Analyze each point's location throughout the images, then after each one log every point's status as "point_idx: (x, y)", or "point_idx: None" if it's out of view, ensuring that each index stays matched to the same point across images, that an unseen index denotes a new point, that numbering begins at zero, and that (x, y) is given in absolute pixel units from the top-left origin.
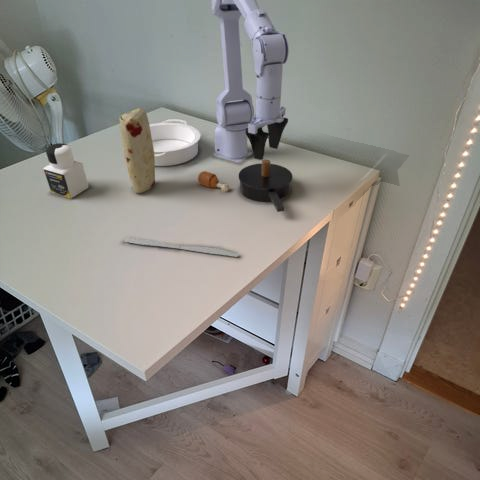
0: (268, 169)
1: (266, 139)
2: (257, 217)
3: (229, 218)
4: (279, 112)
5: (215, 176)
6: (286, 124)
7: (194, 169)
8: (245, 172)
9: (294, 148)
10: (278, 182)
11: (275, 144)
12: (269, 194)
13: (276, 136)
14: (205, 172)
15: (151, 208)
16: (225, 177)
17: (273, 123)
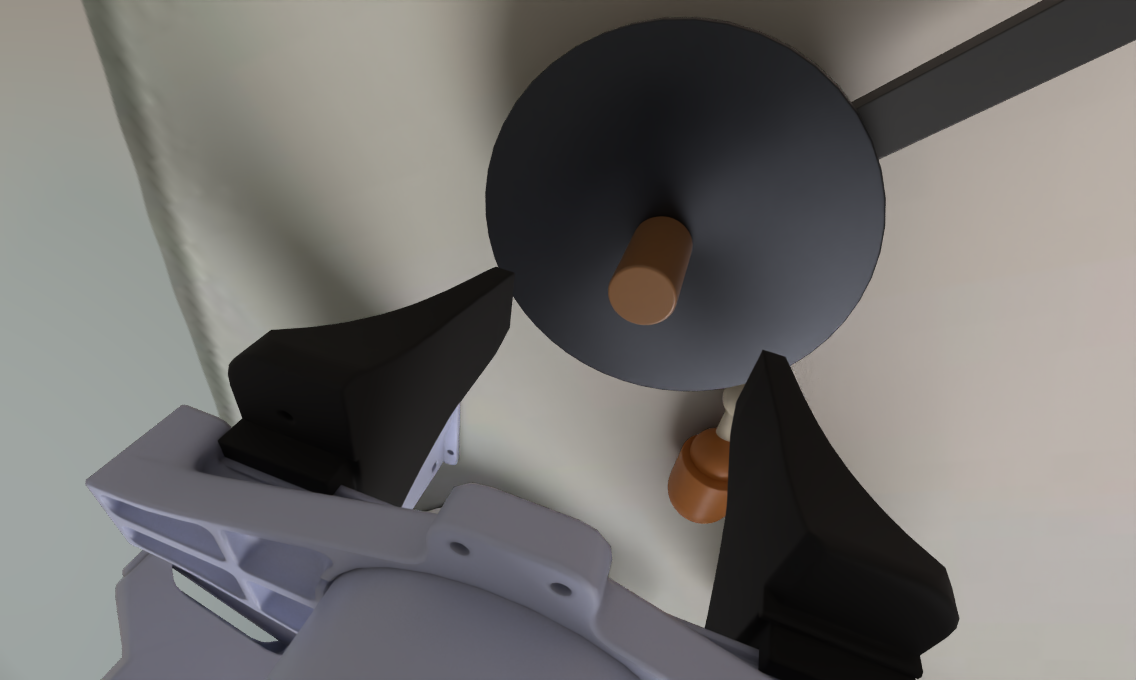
0: (671, 246)
1: (802, 487)
2: (1087, 152)
3: (1092, 320)
4: (409, 662)
5: (690, 463)
6: (301, 328)
7: (585, 505)
8: (663, 361)
9: (172, 162)
10: (755, 120)
11: (497, 303)
12: (905, 144)
13: (457, 341)
14: (699, 512)
15: (964, 605)
16: (602, 402)
17: (391, 461)
